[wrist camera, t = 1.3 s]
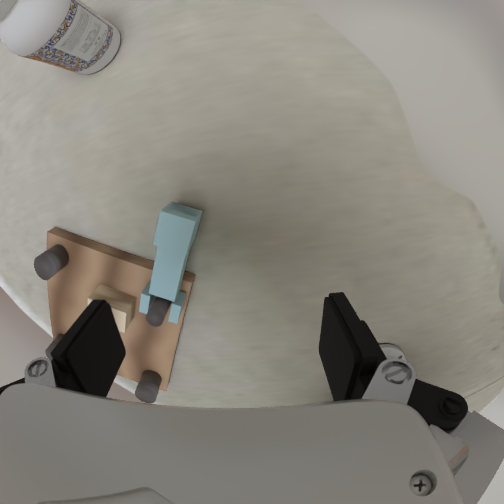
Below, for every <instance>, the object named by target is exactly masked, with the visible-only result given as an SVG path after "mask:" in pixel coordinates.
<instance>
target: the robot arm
mask: <svg viewBox="0 0 504 504" xmlns="http://www.w3.org/2000/svg"><path fill="white" fill-rule="evenodd" d="M50 354H51V356H52V358H53V359H52V361H50V360H49V359H48V358H45V357H40V358H36V359H34V360H32V361H31V362H30V363H29V364H28V365H27V366H26V369H25V378H22V379H20V380H17V381H15V382H13V383H10V384H8V385H5V386H3V387H1V388H0V504H477V502H478V501H479V499H480V498H481V496H482V495H483V493H484V492H485V490H486V489H487V487H488V485H489V484H490V482H491V480H492V479H493V477H494V475H495V474H496V471H497V470H498V468H499V466H500V464H501V462H502V461H503V458H504V430H503V429H502V428H500V427H498V426H497V425H496V424H494V423H492V422H491V421H489V420H488V419H486V418H485V417H483V416H482V415H480V414H479V413H477V412H476V411H473V412H472V413H471V412H469V411H468V406H467V402H466V401H465V399H464V398H463V397H462V396H461V395H459V394H457V393H454V392H451V391H448V390H445V389H443V388H440V387H437V386H434V385H431V384H428V383H426V382H423V381H420V380H417V379H416V371H415V368H414V367H413V366H412V365H411V364H410V363H409V362H407V361H406V358H405V355H404V353H403V352H402V350H401V349H400V348H399V347H397V346H395V345H391V344H380V345H379V344H378V342H377V340H376V339H375V337H374V335H373V334H372V332H371V330H370V329H369V327H368V325H367V324H366V322H365V321H363V320H361V321H360V319H359V317H358V316H357V314H356V312H355V311H354V309H353V307H352V306H351V304H350V302H349V301H348V299H347V297H346V296H345V294H344V293H343V292H339V293H330V294H329V297H325V299H324V308H323V317H322V326H321V334H320V342H319V354H320V357H321V360H322V364H323V367H324V370H325V373H326V376H327V380H328V383H329V386H330V389H331V393H332V396H333V399H334V402H323V403H314V404H305V405H293V406H279V407H262V408H197V407H179V406H166V405H156V404H146V403H138V402H131V401H124V400H118V399H112V398H106V396H107V394H108V392H109V390H110V387H111V385H112V383H113V381H114V379H115V377H116V375H117V372H118V370H119V368H120V366H121V364H122V362H123V360H124V358H125V355H126V349H125V346H124V344H123V341H122V338H121V336H120V333H119V330H118V327H117V324H116V321H115V318H114V315H113V312H112V309H111V306H110V304H109V303H107V301H106V300H101V299H94V300H92V301H91V303H90V304H89V305H88V306H87V307H86V309H85V310H84V311H83V312H82V313H81V315H80V316H79V317H78V318H77V320H76V321H75V322H74V323H73V324H72V326H71V327H70V328H69V330H68V331H67V332H66V333H65V335H64V336H63V337H62V338H61V340H60V341H59V342H58V344H57V345H56V346H55V348H54V349H53V350H52V352H51V353H50Z"/></svg>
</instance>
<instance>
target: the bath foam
mask: <svg viewBox="0 0 504 504" xmlns="http://www.w3.org/2000/svg"><path fill="white" fill-rule="evenodd" d="M0 39H1V41H2V43H3V44H4V46H5V47H6V48H7V49H8V50H9V51H11V52H12V53H14V54H16V55H19V56H22V57H26V58H30V59H33V60H37V61H41V62H44V63H48V64H51V65H54V66H58V67H61V68H64V69H67V70H70V71H74V72H77V73H80V74H92V73H95V72H97V71H99V70H101V69H102V68H104V67H105V66H106V65H107V64H108V63H109V62H110V61H111V60H112V59H113V58H114V56H115V54H116V53H117V51H118V48H119V45H120V33H119V31H118V30H117V28H116V27H115V26H113V25H112V24H111V23H110V22H108V21H107V20H106V19H104V18H103V17H102V16H100V15H99V14H98V13H97V12H95V11H94V10H93V9H91V8H90V7H88V6H87V5H86V4H84V3H83V2H82V1H80V0H0Z"/></svg>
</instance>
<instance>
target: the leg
mask: <svg viewBox="0 0 504 504" xmlns="http://www.w3.org/2000/svg"><path fill="white" fill-rule="evenodd" d="M202 212H203V211H201V210H198V209H194V208H191V207H188V206H184V205H181V204H178V203H174V202H171V203H170V204H169V205H168V206H166V207H165V208H164V209H162V210H161V211H160V215H159V219H158V223H157V228H156V232H155V237H154V242H153V245H155V246H158V247H157V252H156V257H155V262H154V267H153V272H152V278H151V282H150V281H149V282H148V284H147V286H146V287H145V289H144V290H143V292H142V293H141V299H140V306H139V312H142V313H144V314H147V313H148V311H149V309H150V307H151V306H152V304H153V302H154V300H155V296H158V297H161V298H164V299H167V300H170V301H173V302H172V306H171V310H170V315H169V320H168V322H172V323H175V324H177V323H178V320H179V317H180V315H181V312H182V309H183V305H184V301H185V297H186V293H184V292H181V291H179V290H180V287H181V283H182V279H183V275H184V271H185V267H186V263H187V259H188V255H189V251H190V248H191V246H192V244H193V242H194V240H195V237H196V233H197V230H198V226H199V223H200V219H201V216H202Z"/></svg>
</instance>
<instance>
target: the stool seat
mask: <svg viewBox="0 0 504 504" xmlns="http://www.w3.org/2000/svg"><path fill="white" fill-rule="evenodd" d="M34 267H35V271H36V273H37V274H38V276H39V277H40V278H42V279H43V280H47V283H48V298H49V309H50V318H51V326H52V333H53V339H54V340H53V342H52V343H51V344H50V346H49V347H48V348H47V349H46V355H47V357H48V358H49V360H50V361H52V359H53V358H52V356H51V354H50V353H51V352H52V350H53V349H54V348H55V346H56V345H57V344H58V342H59V341H60V340H61V338H62V337H63V336H64V335H65V333H66V332H67V331H68V330H69V328H70V327H71V326H72V324H73V323H74V322H75V321H76V320H77V318H78V317H79V316H80V315H81V313H82V312H83V311H84V310H85V309H86V307H87V306H88V305H89V304H90V303H91V301H92V300H94V299H101V300H106V301H107V303H109V304H110V306H111V309H112V312H113V315H114V318H115V321H116V324H117V327H118V330H119V333H120V336H121V338H122V341H123V344H124V346H125V349H126V355H125V358H124V360H123V362H122V364H121V366H120V368H119V370H118V372H117V375H120V376H123V377H125V378H128V379H131V380H133V381H136V382H139V383H138V386H137V389H136V391H135V395H136V397H137V398H138V399H139V400H141V401H143V402H146V403H153V402H155V400H156V397H157V394H158V390H159V389H160V390H163V391H167V387H168V383H169V379H170V375H171V370H172V366H173V361H174V357H175V352H176V348H177V344H178V340H179V335H180V331H181V327H182V323H183V319H184V315H185V311H186V307H187V303H188V299H189V296H190V292H191V288H192V284H193V281H194V277H195V275H194V274H191V273H187V272H184V275H183V279H182V283H181V287H180V290H179V291H181V292H184V293H186V297H185V301H184V305H183V309H182V312H181V315H180V317H179V320H178V323H177V324H175V323H172V322H168V320H169V315H170V310H171V306H172V302H173V301H170V300H167V299H164V298H161V297H158V296H155V300H154V302H153V304H152V306H151V307H150V309H149V311H148V313H147V314H144V313H142V312H139V306H140V299H141V293H142V292H143V290H144V289H145V287H146V286H147V284H148V282H149V281H150V282H151V278H152V272H153V267H154V262H153V261H150V260H147V259H144V258H141V257H138V256H135V255H132V254H129V253H126V252H123V251H120V250H118V249H115V248H112V247H109V246H106V245H103V244H100V243H98V242H95V241H92V240H89V239H86V238H84V237H81V236H78V235H76V234H73V233H70V232H67V231H65V230H62V229H59V228H57V227H55V228H53V229H51V230H49V231H48V232H47V251H45V252H44V253H42V254H41V255H39V256H38V257H36V258H35V260H34Z"/></svg>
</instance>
